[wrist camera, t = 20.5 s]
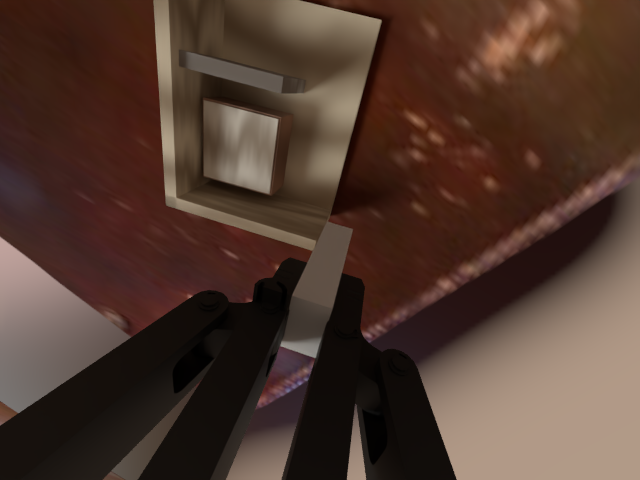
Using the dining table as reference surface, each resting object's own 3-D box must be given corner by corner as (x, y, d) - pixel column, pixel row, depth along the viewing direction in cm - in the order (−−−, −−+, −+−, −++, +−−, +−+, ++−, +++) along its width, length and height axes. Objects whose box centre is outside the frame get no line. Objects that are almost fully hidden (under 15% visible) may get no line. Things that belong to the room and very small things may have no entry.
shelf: (219, -17, 27) (149, -62, 19) (381, 22, 25) (379, -9, 18) (213, 181, 37) (166, 205, 29) (330, 216, 35) (313, 251, 28)
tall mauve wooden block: (293, 114, 30) (223, 96, 30) (280, 117, 26) (201, 97, 27) (283, 185, 34) (221, 168, 34) (270, 196, 30) (202, 177, 31)
